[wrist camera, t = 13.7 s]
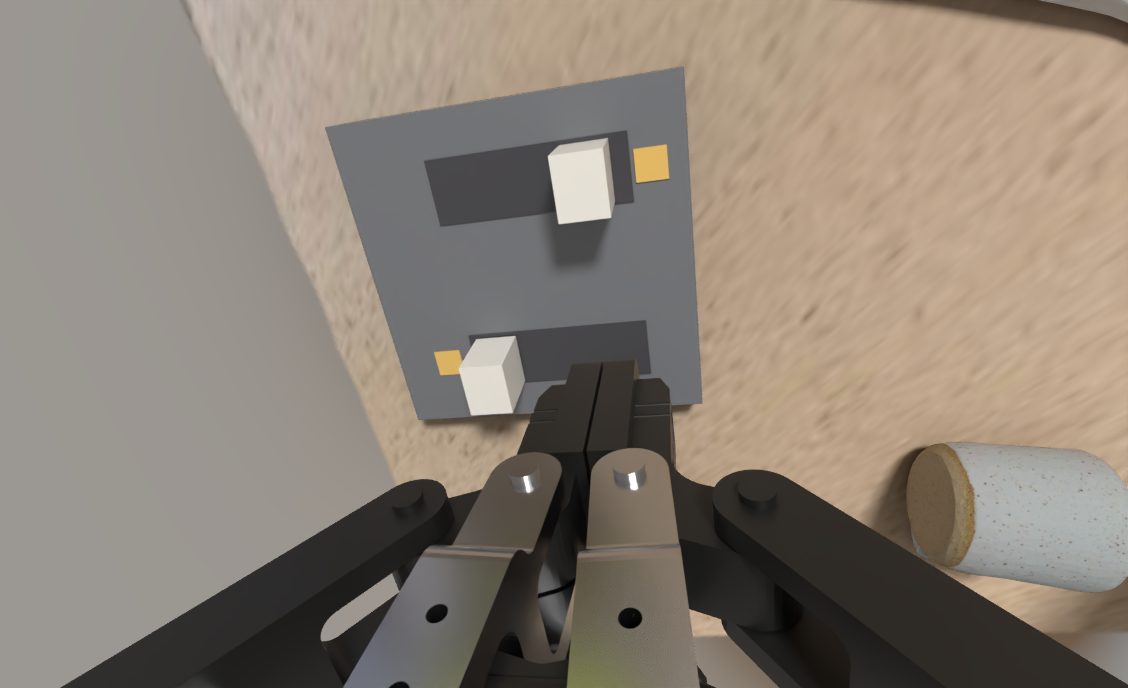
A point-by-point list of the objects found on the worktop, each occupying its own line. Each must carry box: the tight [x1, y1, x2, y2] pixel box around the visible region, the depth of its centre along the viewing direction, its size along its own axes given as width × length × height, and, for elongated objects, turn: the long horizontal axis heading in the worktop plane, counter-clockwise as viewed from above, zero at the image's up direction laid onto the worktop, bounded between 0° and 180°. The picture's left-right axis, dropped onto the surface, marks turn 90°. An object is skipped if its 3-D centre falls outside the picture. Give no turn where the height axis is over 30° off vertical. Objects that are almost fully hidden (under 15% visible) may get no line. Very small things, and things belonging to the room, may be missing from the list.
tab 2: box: [548, 138, 615, 224], centre depth 26 cm, size 2×3×4 cm
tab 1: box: [459, 336, 525, 415], centre depth 32 cm, size 2×3×4 cm
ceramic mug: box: [906, 442, 1128, 593], centre depth 32 cm, size 11×8×8 cm
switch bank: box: [325, 67, 702, 420], centre depth 32 cm, size 18×18×2 cm
